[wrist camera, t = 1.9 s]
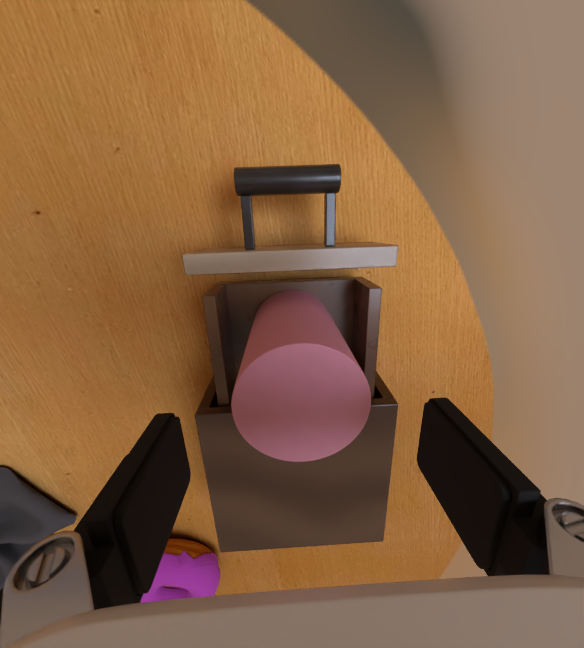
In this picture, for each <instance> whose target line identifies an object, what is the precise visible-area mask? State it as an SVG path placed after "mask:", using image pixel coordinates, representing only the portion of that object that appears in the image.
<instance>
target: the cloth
mask: <svg viewBox="0 0 584 648" xmlns="http://www.w3.org/2000/svg"><path fill="white" fill-rule="evenodd" d="M75 520H76V516H75V515H74V514H71V513H69V512H68V511H66V510H65V509H63V508H61V507H59V506H58V505H56V504H55V503H53V502H52V501H50V500H49V499H47V498H46V497H44V496H43V495H42V494H40V493H39V492H37V491H36V490H34V489H33V488H32V487H30V486H29V485H27V484H26V483H24V482H23V481H22V480H21V479H19V478H18V477H17V476H16V474H15V473H14V472H12V471H11V470H10V469H7V468H4V467H0V590H1V589H2V588H3V587H4V583H5V580H6V577H7V575H8V573H9V572H10V570H11V568H12V567H13V565H14V564H15V563H16V562H17V561H18V560H19V558H20V557H21V556H22V555H23V554H24V553H25V552H27V551H28V550H29V549H30V548H31V547H32V546H34V545H35V544H37V543H38V542H40V541H41V540H43V539H44V538H46V537H49V536H51V535H53V533H54V532H56V531H58V530H60V529H62V528H64V527H66V526H69V525H71V524H73V523H74V522H75Z"/></svg>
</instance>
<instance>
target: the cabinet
mask: <svg viewBox="0 0 584 648" xmlns="http://www.w3.org/2000/svg"><path fill="white" fill-rule="evenodd" d="M397 410H398V403H397V402H396V400H395V399H394V397H393V395H392V394H391V392H390V391H389V389H388V388H387V386H386V385H385V383H384V382H383V380H382V379H381V377H380V376H379V374H378V373H377V371H376V375H375V388H374V399H371V406H370V412H369V416H368V419H367V421H366V423H365V425H364V427H363V429H362V430H361V432H360V433H359V434H358V436H357V437H356V438H355V439H354V440H353V441H352V442H351V443H350V444H349V445H347V446H346V447H344V448H343V449H342V450H340V451H338V452H336V453H334V454H332V455H330V456H328V457H325V458H322V459H318V460H313V461H305V462H292V461H284V460H279V459H276V458H273V457H270V456H268V455H265V454H263V453H262V452H260V451H258V450H257V449H255V448H254V447H253V446H251V445H250V444H249V443H248V442H247V441H246V440H245V439H244V438H243V436H242V435H241V434H240V432H239V430H238V428H237V427H236V424H235V422H234V419H233V414H232V407H218V400H217V393H216V387H215V380H214V375H213V377H212V379H211V381H210V383H209V385H208V388H207V390H206V392H205V394H204V396H203V398H202V401H201V403H200V405H199V407H198V410H197V412H196V414H195V419H196V424H197V429H198V435H199V440H200V446H201V451H202V456H203V462H204V467H205V473H206V478H207V483H208V489H209V494H210V500H211V505H212V510H213V516H214V521H215V527H216V532H217V537H218V543H219V548H220V552H233V551H248V550H262V549H277V548H292V547H306V546H321V545H336V544H350V543H365V542H380V541H383V539H384V530H385V521H386V512H387V502H388V493H389V484H390V475H391V465H392V456H393V447H394V438H395V429H396V419H397Z"/></svg>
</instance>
